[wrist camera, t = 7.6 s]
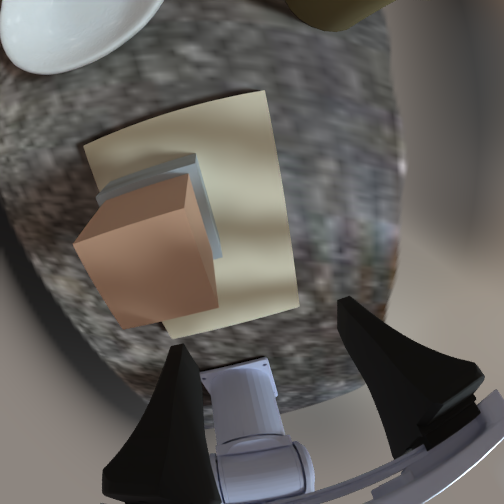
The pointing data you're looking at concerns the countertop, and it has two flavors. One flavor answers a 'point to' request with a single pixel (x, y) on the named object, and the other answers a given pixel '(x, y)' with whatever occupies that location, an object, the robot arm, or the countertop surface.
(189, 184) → the terracotta block
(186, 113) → the baseboard
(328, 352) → the countertop surface
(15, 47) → the spoon rest
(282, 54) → the countertop surface
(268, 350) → the countertop surface
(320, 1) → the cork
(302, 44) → the countertop surface
